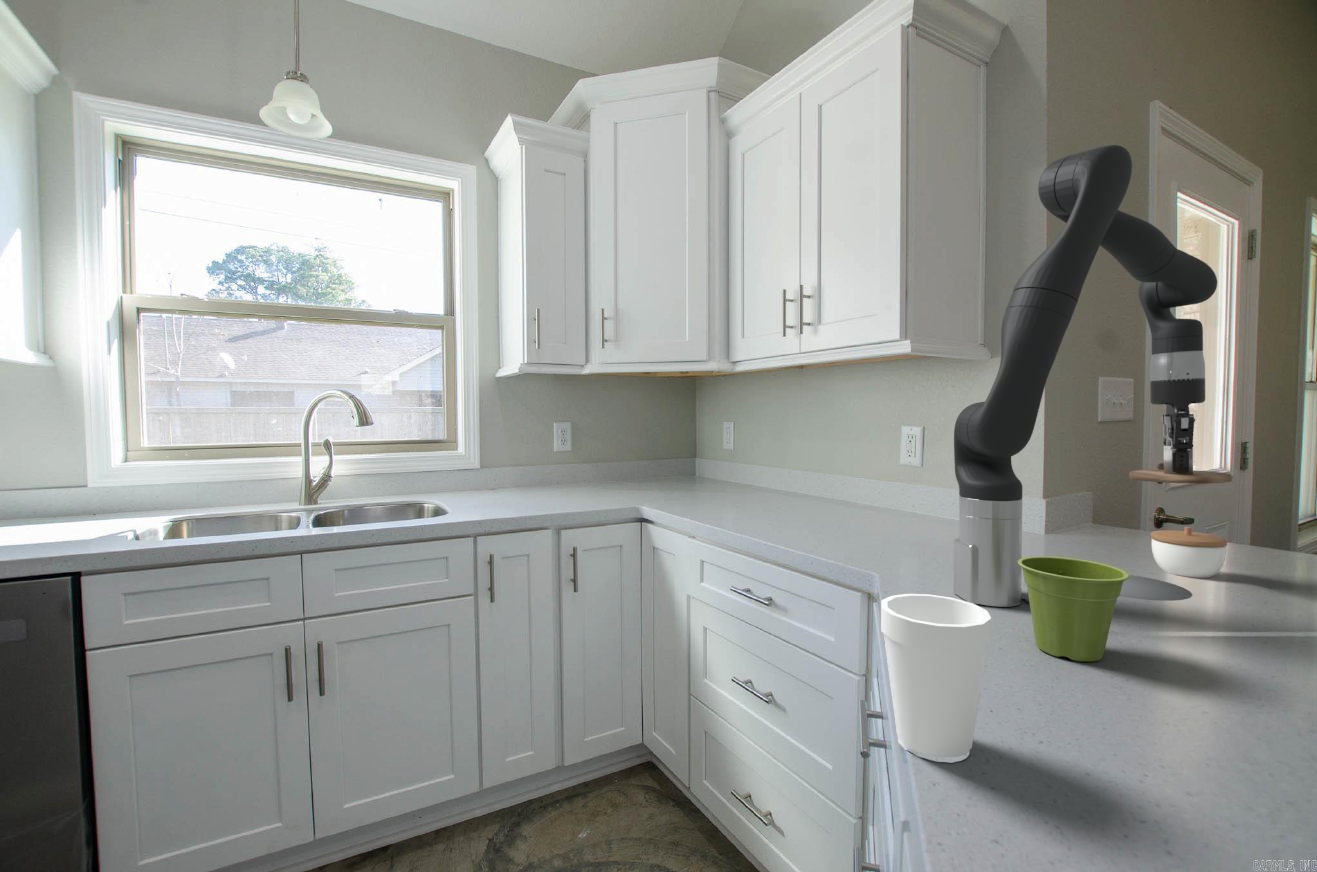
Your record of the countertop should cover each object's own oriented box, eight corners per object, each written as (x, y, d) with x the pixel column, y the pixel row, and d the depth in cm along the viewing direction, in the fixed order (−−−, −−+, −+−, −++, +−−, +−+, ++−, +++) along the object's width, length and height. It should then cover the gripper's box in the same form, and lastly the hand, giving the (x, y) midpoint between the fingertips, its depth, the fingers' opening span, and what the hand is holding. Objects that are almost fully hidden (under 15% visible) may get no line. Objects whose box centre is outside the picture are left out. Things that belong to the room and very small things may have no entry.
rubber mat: (1113, 603, 95) (1113, 600, 95) (1047, 575, 112) (1047, 572, 112) (1220, 603, 95) (1221, 600, 95) (1138, 575, 112) (1138, 572, 112)
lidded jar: (1242, 585, 104) (1243, 533, 104) (1173, 582, 107) (1174, 531, 106) (1199, 570, 115) (1200, 522, 115) (1137, 567, 117) (1138, 521, 117)
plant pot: (1096, 679, 69) (1097, 584, 68) (997, 645, 79) (998, 562, 79) (1147, 659, 74) (1148, 571, 74) (1048, 629, 84) (1049, 552, 84)
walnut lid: (1169, 484, 101) (1169, 449, 100) (1111, 476, 115) (1110, 445, 114) (1255, 481, 100) (1255, 447, 100) (1186, 473, 114) (1185, 443, 114)
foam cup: (864, 720, 60) (864, 595, 59) (950, 715, 61) (951, 592, 60) (912, 777, 50) (912, 629, 50) (1013, 770, 51) (1014, 624, 51)
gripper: (1214, 375, 99) (1215, 476, 99) (1195, 377, 111) (1196, 468, 111) (1156, 378, 103) (1157, 475, 103) (1144, 380, 115) (1145, 467, 115)
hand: (1177, 471), depth 107 cm, fingers closed on walnut lid, 4 cm apart
